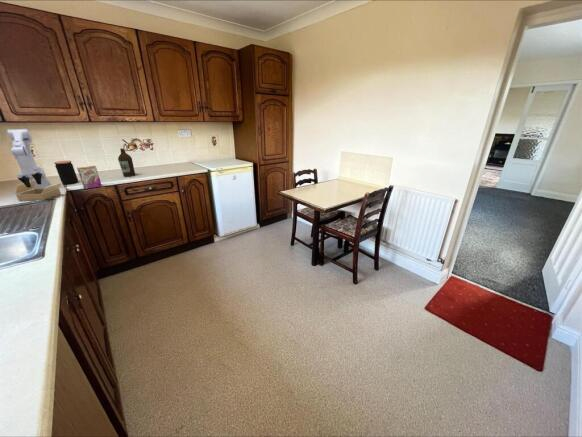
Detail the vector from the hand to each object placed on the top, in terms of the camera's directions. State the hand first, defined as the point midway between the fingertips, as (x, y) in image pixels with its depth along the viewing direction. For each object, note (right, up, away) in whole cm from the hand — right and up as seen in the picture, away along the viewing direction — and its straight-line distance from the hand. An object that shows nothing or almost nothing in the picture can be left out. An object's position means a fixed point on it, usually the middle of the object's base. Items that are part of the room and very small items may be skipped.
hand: (34, 185), depth 165 cm
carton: (+1, -8, +3) cm, 8 cm away
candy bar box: (+18, +2, +27) cm, 32 cm away
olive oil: (+23, +17, +62) cm, 69 cm away
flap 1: (-6, -1, 0) cm, 6 cm away
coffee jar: (-11, +7, +39) cm, 41 cm away
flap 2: (+11, -1, +1) cm, 11 cm away
